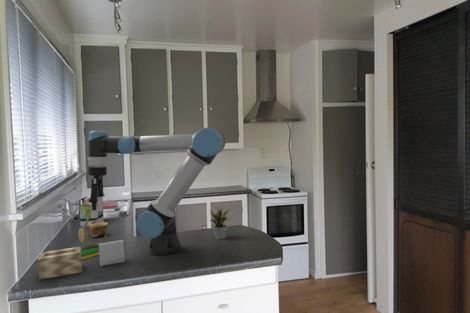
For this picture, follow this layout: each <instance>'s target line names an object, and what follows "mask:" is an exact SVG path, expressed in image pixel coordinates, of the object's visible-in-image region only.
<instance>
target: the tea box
mask: <svg viewBox="0 0 470 313" xmlns="http://www.w3.org/2000/svg"><path fill="white" fill-rule="evenodd" d="M89 201H90V200H87V201H86V202H85V204H86V205H87V204H88V203H89ZM83 203H84V202H82V203H80V204H79V219H80V227H84V226H85V223H86V220H87V218H88V216H89V214H90V213H91V203H89V205H88V206H84V204H83ZM104 218H105V217H104V210H103V211H98V218H91V216H90V218H89V220H88V223H87V226H86V227H89V225H90V224H91V223H92V222H93V221H103V222H105V219H104Z"/></svg>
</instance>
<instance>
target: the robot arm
mask: <svg viewBox="0 0 470 313" xmlns="http://www.w3.org/2000/svg"><path fill="white" fill-rule="evenodd" d="M225 146H226V137H225V135H224V134H223V133H222V132H221V130H219V129H216V128H213V127H204V128H201V129H199V130H197V131H195V133H191V134H190V133H188V134H163V135H161V134H160V135H141V136H140V135H136V136H134V135H132V136H131V135H130V136H128V135H126V136H125V135H124V136H123V135H121V136H119V135H117V136H116V135H115V136H114V135H108V132H107V131H106V130H105V131H104V130H103V131H102V130H91V131H90V132H88V158H87V159H86V160H87V161H88V167H87V168H88V169H87V171H88V172H87V174H88V176H91V177H92V176H93V178H92V179H91V186H90V187H91V188H90V196H89V198H90V200H88V201H89V203H91V218H98V211H103V212H104V199H103V198H104V197H105V193H104V182H103V179H104V178H103V177H104V176H107V171H108V170H107V169H108V168H107V165H108V154H121V155H129V154H130V155H131V154H133V153H152V152H153V153H155V152H159V153H160V152H184V151H185V152H187V155H186V157H185V158H184V160H182V162H181V164H180V166H179V167H178V169H176V171H175V173H174V174H173V176H172V177H171V179H170V180H169V181H168V183H167V185H166V186H165V187H164V189H163V190H162V191H161V194H159V196H158V198H157V199H154V200H153V199H152V201H151V202H150V203H149V204H148V206H147V208H145V210H144V212H142V213H140V215H139V216H138V218H137V219H136V220H137V221H136V227H137V230H138V232H139V234H141V236H143V237H145V238H147V239H150V240H149V246H148V253H149V254H151V255H157V256H162V255H163V256H164V255H170V254H175V253H177V252H180V251H181V250H182V241H181V239H180V237H179V235H178V232H177V231H178V229H177V216H176V215H177V214H176V208H177V207H178V206H179V204H180V202H181V201H182V199H183V198H184V197H185V195H186V193H187V192H188V191H189V189H190V188H191V187H192V185H193V184H194V182H195V181H196V179H197V178H198V176H199V175H200V174H201V172H202V171H203V169H204V167H205V166H210V165H211V164H212V162H213V161H214V159H216V157H217V156H218V154H220V153H221V152H222V151H223V150H224V148H225Z"/></svg>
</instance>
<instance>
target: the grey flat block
mask: <svg viewBox="0 0 470 313" xmlns="http://www.w3.org/2000/svg"><path fill="white" fill-rule="evenodd" d="M98 243H99V245H98V249H99V255H98V256H99V265H100V267H102V266H103V267H104V266H108V265H109V266H110V265H114V264H119V263H120V264H121V263H125V262H126V258H125V245H124V244H125V242H124V239H120V240H112V241H107V242H106V241H104V242H103V243H100V242H98Z"/></svg>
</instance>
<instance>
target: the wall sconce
mask: <svg viewBox="0 0 470 313" xmlns="http://www.w3.org/2000/svg"><path fill="white" fill-rule="evenodd" d="M88 201H90V197H88V198H86V199H84V200H83V202H82V203H83V204H84V206H88V205H89V203H88V204H87V205H86V204H85V202H88ZM90 216H91V213H90V214H89V216H88V218H87V220H86V223H85V226H83V228H79V229H78V240H79V241H80V242H81V243H86V244H87V245H88V246H91V247H96V246H97V247H98V246H99V243H105V242H106V239H107V238H108V237H107V236H108V229H107V230H106V229H105V227H103V226H105V225H107V226H108V223H109V222H105V221H103V222H100V223H94V224H90V225H89V226H87V223H88V220H89V218H90ZM87 227H89V228H90V227H96V228H94V229H93V230H92V231H91V233H90V234H91V237H93V238H96V236H98V235H93V231H94V230H96V229H98V231H97V232H98V233H100V231H101V230H99V229H100V228H103V229H104V231H105V234H104V238H103V240H101V241H100V242H98V243H90V242H89V241H88V239H87V236H88V234H87V232H86V229H87Z"/></svg>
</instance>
